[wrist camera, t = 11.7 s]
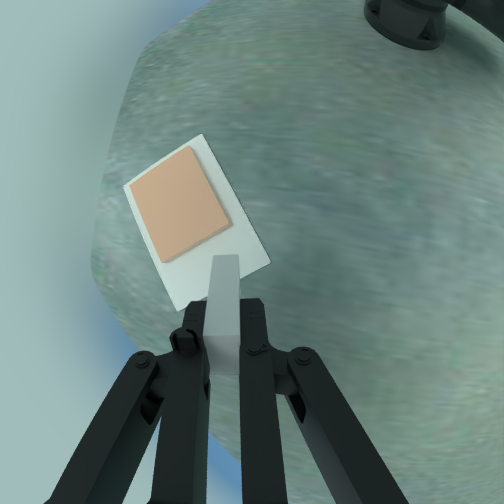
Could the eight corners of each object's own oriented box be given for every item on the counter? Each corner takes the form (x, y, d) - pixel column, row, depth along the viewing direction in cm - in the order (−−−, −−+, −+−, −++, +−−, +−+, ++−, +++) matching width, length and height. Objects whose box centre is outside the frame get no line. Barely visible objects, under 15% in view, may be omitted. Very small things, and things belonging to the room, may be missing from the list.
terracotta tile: (229, 223, 34) (188, 145, 35) (161, 262, 36) (129, 185, 37) (233, 225, 36) (194, 150, 37) (168, 262, 38) (136, 188, 39)
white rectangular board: (271, 262, 36) (271, 262, 35) (179, 310, 38) (177, 311, 37) (203, 135, 38) (201, 133, 37) (125, 187, 40) (122, 186, 39)
